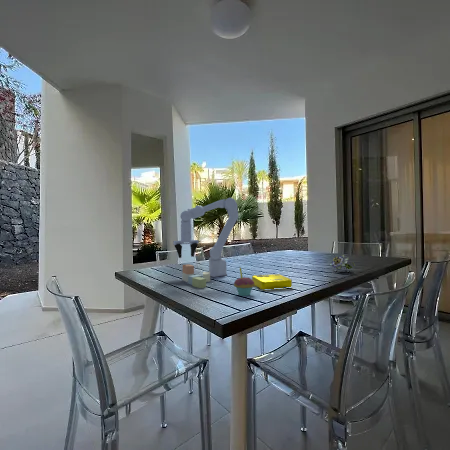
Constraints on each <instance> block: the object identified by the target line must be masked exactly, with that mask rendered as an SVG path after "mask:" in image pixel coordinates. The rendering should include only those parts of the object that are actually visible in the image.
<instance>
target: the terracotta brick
mask: <svg viewBox="0 0 450 450" xmlns="http://www.w3.org/2000/svg"><path fill="white" fill-rule="evenodd" d="M182 273H185V274H194V275H195V265H193V264H188V263H187V264H182Z"/></svg>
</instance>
